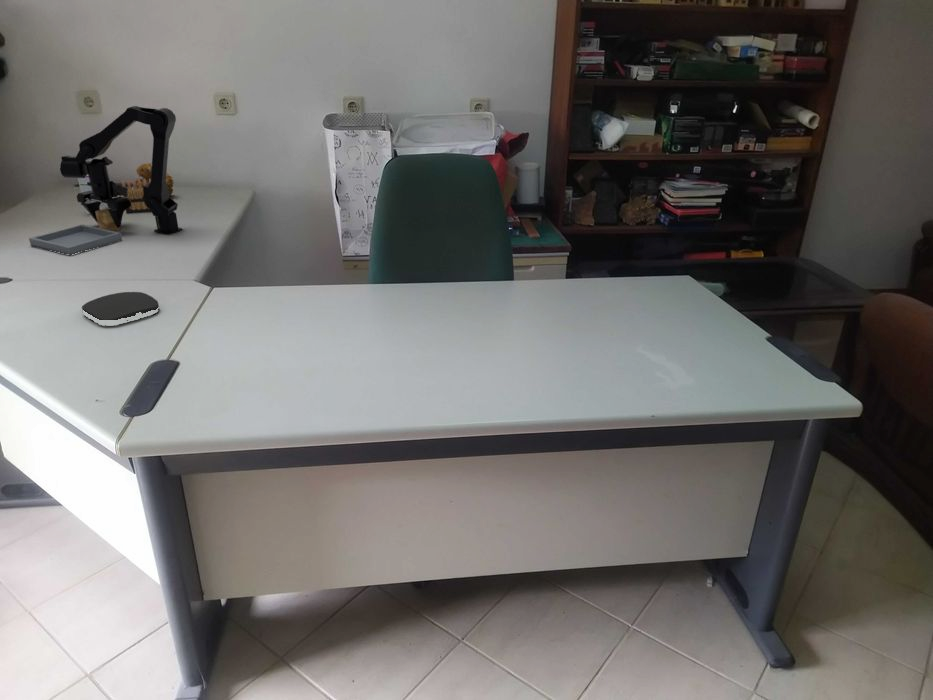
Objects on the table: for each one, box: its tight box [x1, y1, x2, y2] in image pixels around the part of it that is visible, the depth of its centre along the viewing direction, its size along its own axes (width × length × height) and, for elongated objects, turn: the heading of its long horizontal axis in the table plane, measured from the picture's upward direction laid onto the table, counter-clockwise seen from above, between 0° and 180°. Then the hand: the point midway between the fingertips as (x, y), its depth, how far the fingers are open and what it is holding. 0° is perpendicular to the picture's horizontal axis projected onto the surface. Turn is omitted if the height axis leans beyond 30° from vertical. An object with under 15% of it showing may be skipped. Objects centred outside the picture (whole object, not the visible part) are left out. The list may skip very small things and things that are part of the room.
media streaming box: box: [81, 291, 160, 320], centre depth 161 cm, size 15×15×3 cm
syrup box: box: [77, 175, 110, 215], centre depth 235 cm, size 6×6×14 cm
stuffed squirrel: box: [135, 162, 174, 197], centre depth 257 cm, size 10×14×13 cm
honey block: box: [95, 208, 121, 232], centre depth 219 cm, size 4×4×6 cm
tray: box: [28, 224, 123, 256], centre depth 206 cm, size 18×18×2 cm
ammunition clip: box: [121, 178, 152, 215], centre depth 238 cm, size 11×2×12 cm, turn 113°
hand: (109, 225), depth 220 cm, fingers open, 9 cm apart
